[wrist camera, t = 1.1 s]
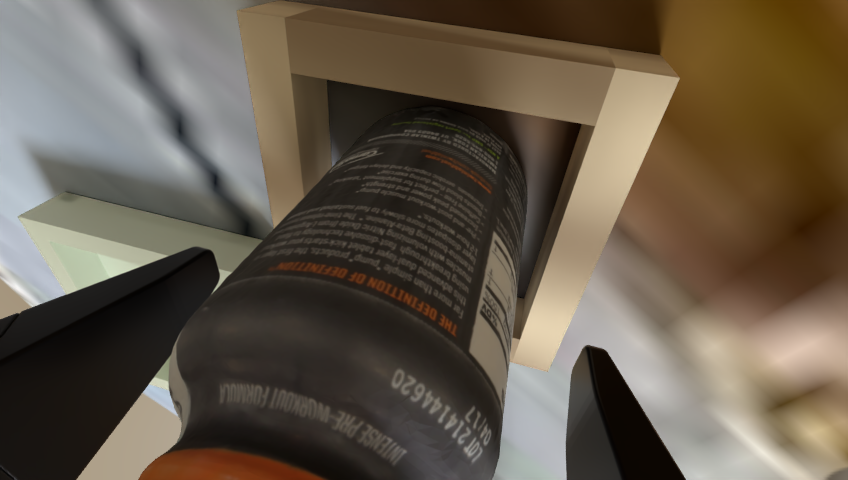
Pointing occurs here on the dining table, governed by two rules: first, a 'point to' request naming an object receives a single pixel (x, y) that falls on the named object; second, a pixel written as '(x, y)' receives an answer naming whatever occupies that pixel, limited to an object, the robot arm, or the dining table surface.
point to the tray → (120, 243)
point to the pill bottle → (364, 320)
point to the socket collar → (471, 84)
